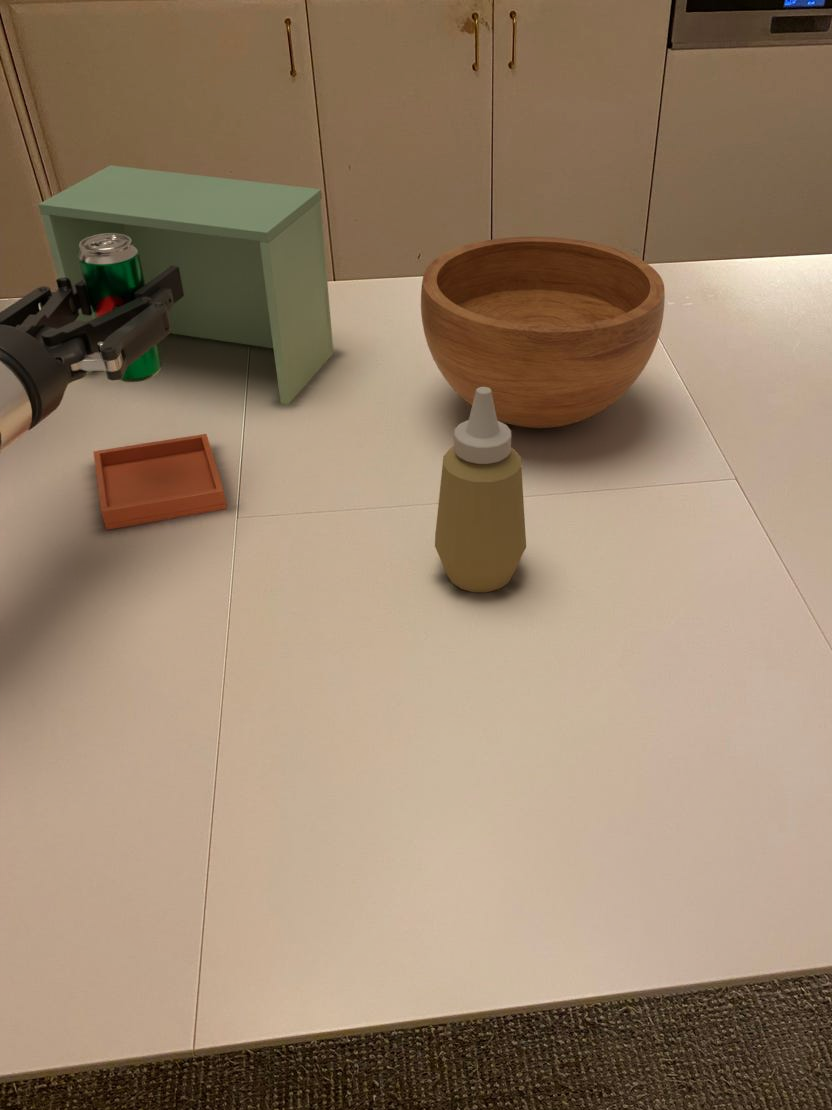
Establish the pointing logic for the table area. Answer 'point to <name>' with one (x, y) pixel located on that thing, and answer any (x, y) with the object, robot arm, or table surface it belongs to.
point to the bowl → (541, 325)
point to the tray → (157, 481)
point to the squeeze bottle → (481, 502)
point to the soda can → (116, 288)
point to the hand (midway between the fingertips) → (149, 277)
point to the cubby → (214, 256)
